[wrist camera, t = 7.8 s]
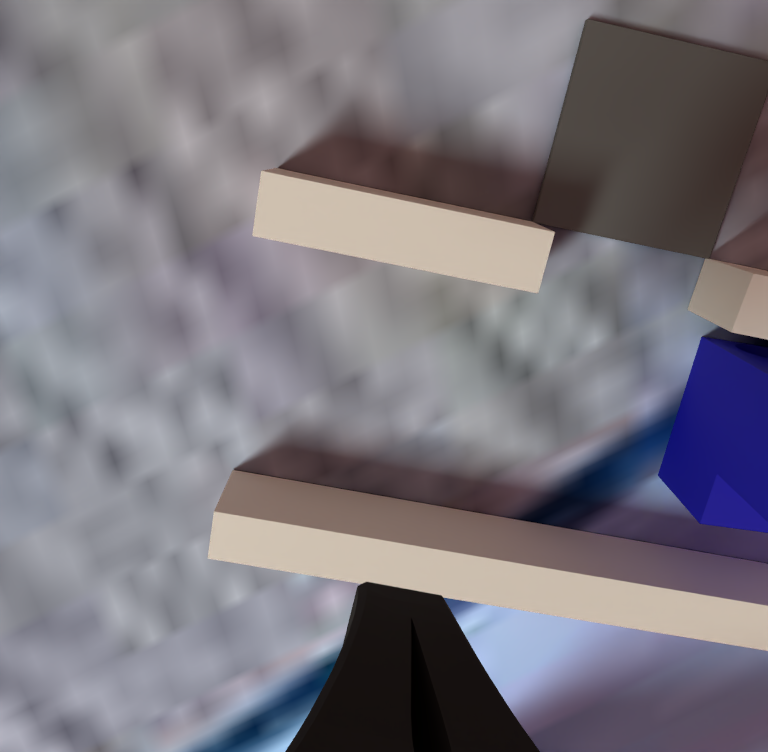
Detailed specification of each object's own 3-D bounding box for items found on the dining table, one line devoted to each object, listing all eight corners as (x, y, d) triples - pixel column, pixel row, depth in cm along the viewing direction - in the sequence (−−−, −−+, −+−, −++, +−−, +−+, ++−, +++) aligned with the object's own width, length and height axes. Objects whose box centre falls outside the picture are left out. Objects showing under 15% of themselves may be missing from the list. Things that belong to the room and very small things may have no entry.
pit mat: (705, 257, 19) (709, 258, 18) (532, 221, 18) (533, 222, 18) (773, 64, 17) (778, 63, 17) (585, 20, 17) (587, 18, 17)
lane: (1019, 647, 23) (1109, 717, 20) (226, 512, 21) (203, 568, 18) (1194, 360, 20) (1331, 395, 17) (276, 168, 18) (257, 171, 15)
